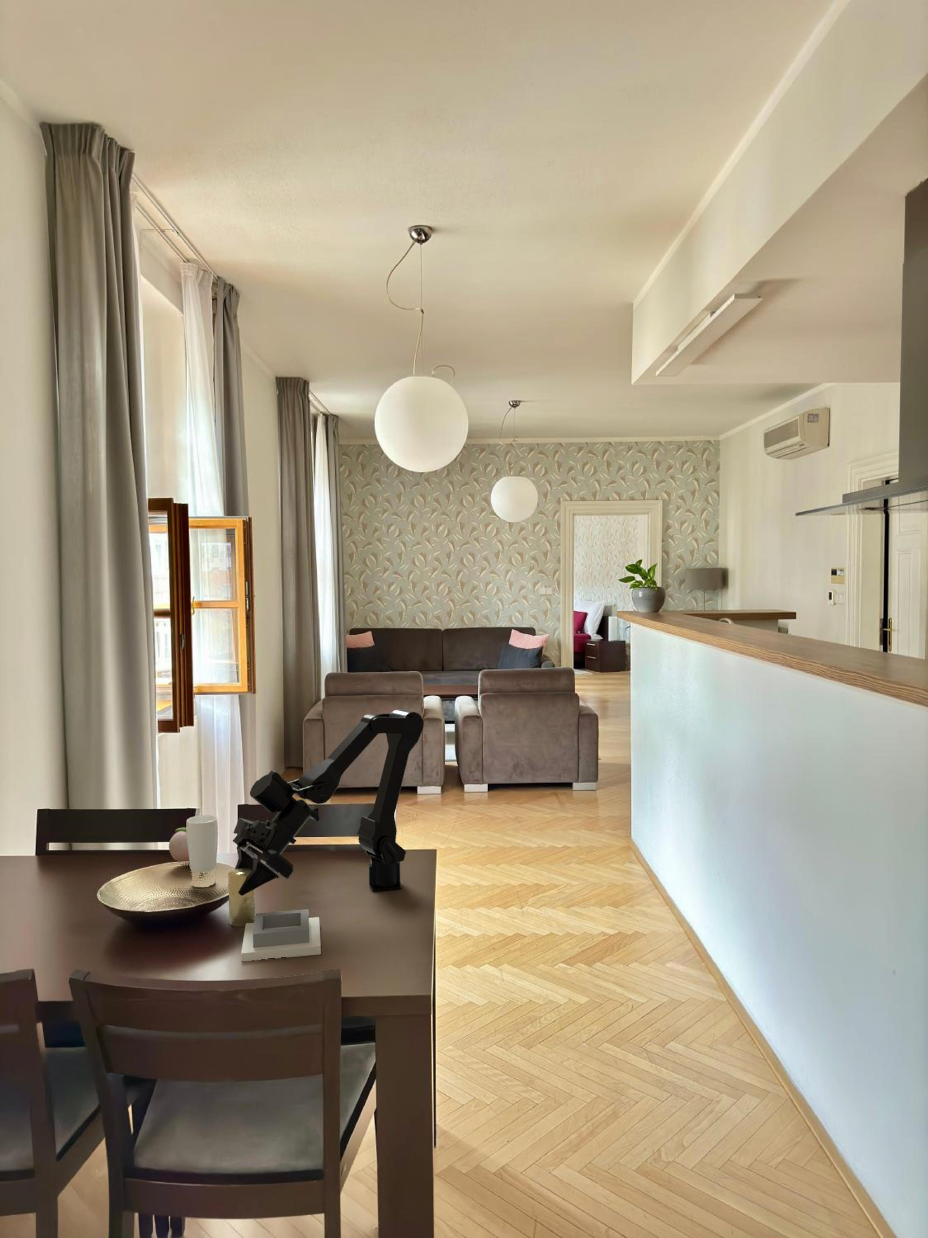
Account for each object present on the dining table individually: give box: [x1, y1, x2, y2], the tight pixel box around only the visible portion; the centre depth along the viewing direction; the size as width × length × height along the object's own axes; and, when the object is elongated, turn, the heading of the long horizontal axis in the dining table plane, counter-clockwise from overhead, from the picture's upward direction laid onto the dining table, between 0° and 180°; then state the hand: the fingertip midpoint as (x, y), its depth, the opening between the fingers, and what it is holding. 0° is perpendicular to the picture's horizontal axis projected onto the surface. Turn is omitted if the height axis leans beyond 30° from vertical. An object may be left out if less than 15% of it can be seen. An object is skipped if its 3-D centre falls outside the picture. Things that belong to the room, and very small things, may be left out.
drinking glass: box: [185, 814, 219, 872], centre depth 194 cm, size 7×7×15 cm
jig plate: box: [240, 908, 322, 962], centre depth 162 cm, size 14×14×4 cm
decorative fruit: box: [168, 827, 189, 862], centre depth 207 cm, size 9×8×10 cm
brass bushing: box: [227, 868, 256, 928], centre depth 172 cm, size 5×5×10 cm
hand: (234, 890), depth 171 cm, fingers closed on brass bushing, 5 cm apart
